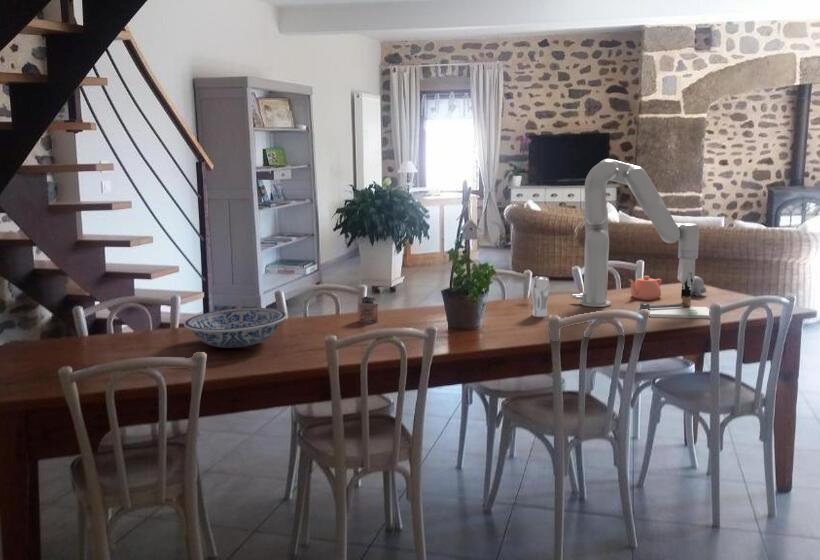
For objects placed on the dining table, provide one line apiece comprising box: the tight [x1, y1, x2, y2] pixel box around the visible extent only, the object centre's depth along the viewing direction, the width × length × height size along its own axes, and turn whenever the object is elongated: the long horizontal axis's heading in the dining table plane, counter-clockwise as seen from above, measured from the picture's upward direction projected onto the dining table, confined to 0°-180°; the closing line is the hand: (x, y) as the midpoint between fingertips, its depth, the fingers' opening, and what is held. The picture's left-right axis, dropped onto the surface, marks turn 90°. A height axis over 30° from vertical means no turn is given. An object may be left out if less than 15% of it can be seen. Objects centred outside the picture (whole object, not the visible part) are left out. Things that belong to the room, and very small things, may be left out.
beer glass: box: [530, 276, 550, 318], centre depth 295 cm, size 7×7×15 cm
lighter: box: [358, 295, 379, 324], centre depth 290 cm, size 8×3×10 cm, turn 62°
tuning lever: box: [639, 295, 692, 310], centre depth 300 cm, size 21×4×4 cm, turn 101°
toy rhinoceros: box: [690, 275, 707, 298], centre depth 328 cm, size 7×12×8 cm, turn 119°
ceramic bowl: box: [183, 307, 287, 349], centre depth 259 cm, size 34×34×10 cm
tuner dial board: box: [638, 305, 710, 319], centre depth 296 cm, size 26×17×1 cm, turn 81°
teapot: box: [629, 275, 662, 301], centre depth 327 cm, size 12×18×10 cm
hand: (685, 298), depth 306 cm, fingers closed
